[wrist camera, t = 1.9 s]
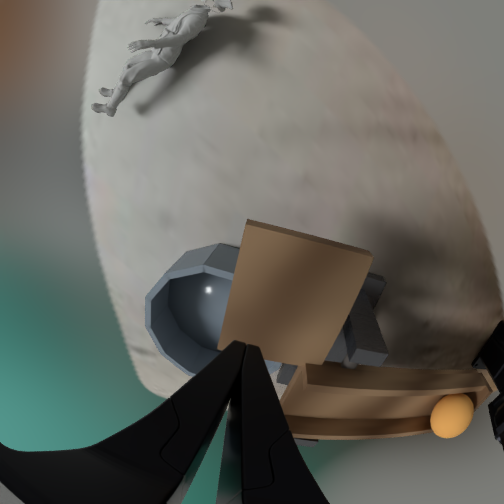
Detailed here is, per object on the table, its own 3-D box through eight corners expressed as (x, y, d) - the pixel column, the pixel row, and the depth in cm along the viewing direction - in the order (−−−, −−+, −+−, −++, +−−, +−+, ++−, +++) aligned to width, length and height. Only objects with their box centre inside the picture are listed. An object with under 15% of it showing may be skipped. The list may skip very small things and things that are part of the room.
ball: (466, 379, 16) (488, 409, 12) (440, 408, 17) (458, 438, 14) (443, 388, 15) (467, 424, 11) (414, 418, 16) (433, 452, 13)
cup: (308, 268, 20) (310, 295, 17) (270, 366, 25) (265, 397, 21) (172, 229, 21) (147, 247, 17) (163, 333, 25) (145, 358, 22)
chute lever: (519, 297, 13) (542, 320, 10) (433, 415, 18) (443, 440, 15) (247, 217, 12) (239, 245, 9) (206, 400, 18) (197, 436, 15)
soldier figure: (106, 75, 18) (182, -34, 10) (151, 91, 21) (232, -7, 13) (83, 123, 14) (176, -31, 7) (141, 142, 18) (248, 9, 10)
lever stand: (383, 276, 20) (418, 344, 12) (323, 385, 25) (325, 453, 17) (325, 260, 20) (338, 327, 12) (277, 375, 25) (267, 445, 17)
